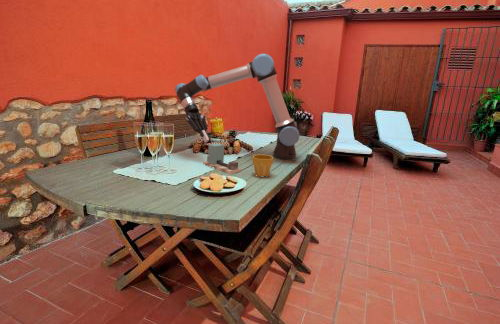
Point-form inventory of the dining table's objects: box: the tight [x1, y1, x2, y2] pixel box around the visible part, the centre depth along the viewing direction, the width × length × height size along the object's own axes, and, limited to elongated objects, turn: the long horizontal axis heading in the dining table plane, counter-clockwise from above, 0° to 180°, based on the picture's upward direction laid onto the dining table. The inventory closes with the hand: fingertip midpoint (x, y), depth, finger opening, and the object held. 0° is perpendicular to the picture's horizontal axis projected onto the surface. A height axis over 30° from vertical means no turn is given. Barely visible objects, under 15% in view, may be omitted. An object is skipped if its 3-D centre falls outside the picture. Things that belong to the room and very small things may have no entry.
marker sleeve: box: [207, 142, 225, 164], centre depth 153 cm, size 5×7×10 cm
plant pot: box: [252, 153, 274, 177], centre depth 141 cm, size 10×10×10 cm
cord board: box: [202, 155, 242, 175], centre depth 151 cm, size 22×8×5 cm, turn 46°
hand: (206, 141), depth 156 cm, fingers closed
